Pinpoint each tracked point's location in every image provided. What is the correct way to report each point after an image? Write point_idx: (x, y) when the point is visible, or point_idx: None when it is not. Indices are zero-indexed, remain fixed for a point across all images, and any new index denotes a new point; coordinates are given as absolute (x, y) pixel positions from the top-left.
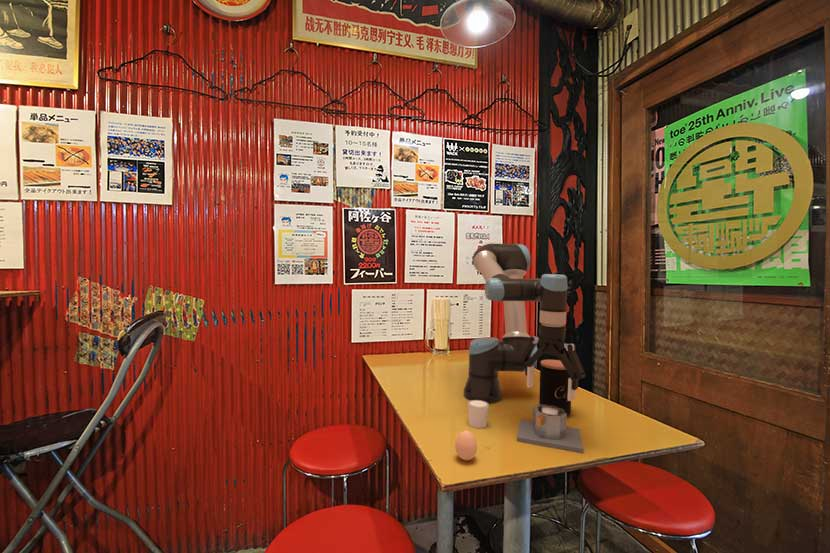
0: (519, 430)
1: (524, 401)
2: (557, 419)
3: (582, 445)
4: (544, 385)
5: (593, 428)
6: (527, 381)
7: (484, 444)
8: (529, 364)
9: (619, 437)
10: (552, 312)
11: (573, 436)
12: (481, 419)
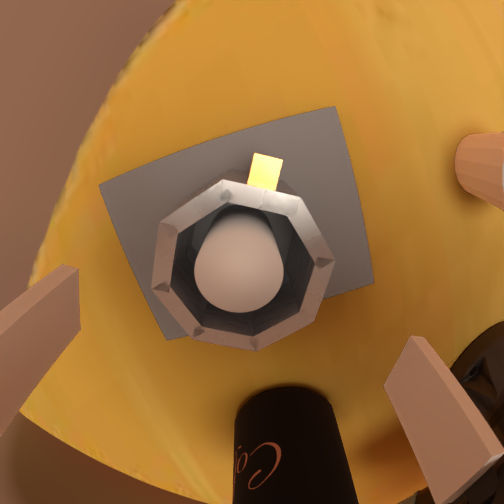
0: (348, 173)
1: (380, 422)
2: (175, 209)
3: (108, 211)
4: (330, 469)
5: (150, 380)
6: (440, 362)
7: (403, 29)
8: (498, 485)
9: (82, 361)
10: None
11: None
12: (480, 140)
